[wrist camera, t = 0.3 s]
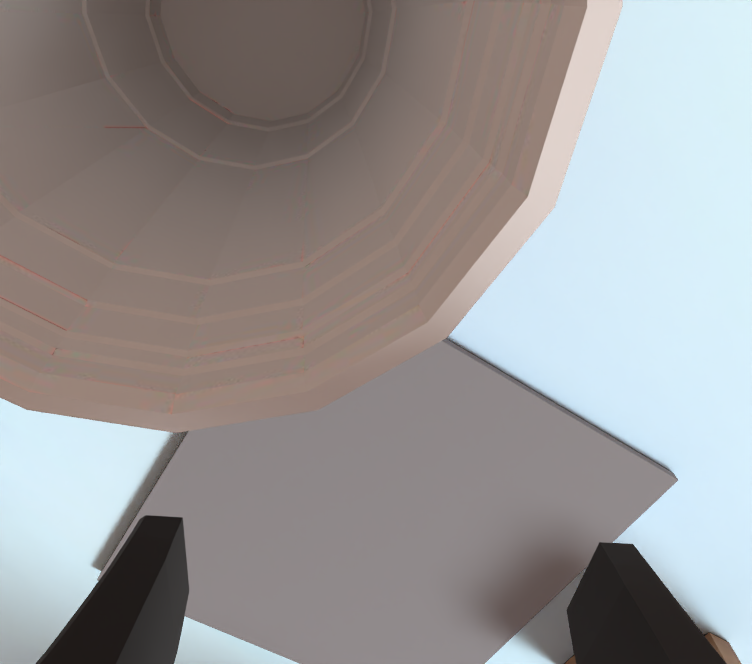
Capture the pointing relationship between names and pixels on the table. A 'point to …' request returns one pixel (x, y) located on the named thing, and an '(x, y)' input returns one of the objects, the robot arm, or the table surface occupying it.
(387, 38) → the plastic cup
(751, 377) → the table surface
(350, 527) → the mat
